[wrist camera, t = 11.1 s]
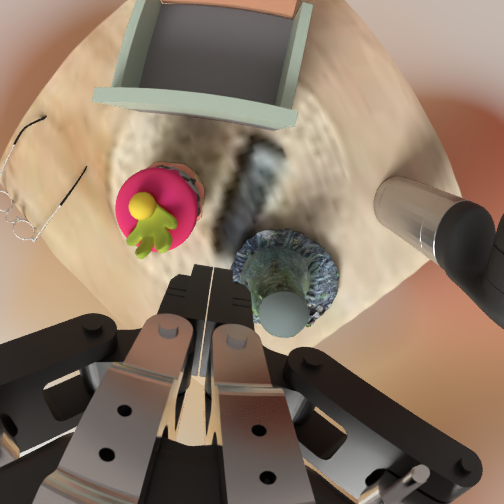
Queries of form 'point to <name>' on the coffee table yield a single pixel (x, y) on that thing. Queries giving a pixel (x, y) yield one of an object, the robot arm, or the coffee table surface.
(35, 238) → the eyeglasses
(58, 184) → the coffee table surface
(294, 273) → the tree stump
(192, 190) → the cake
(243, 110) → the truck bed
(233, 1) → the panel
